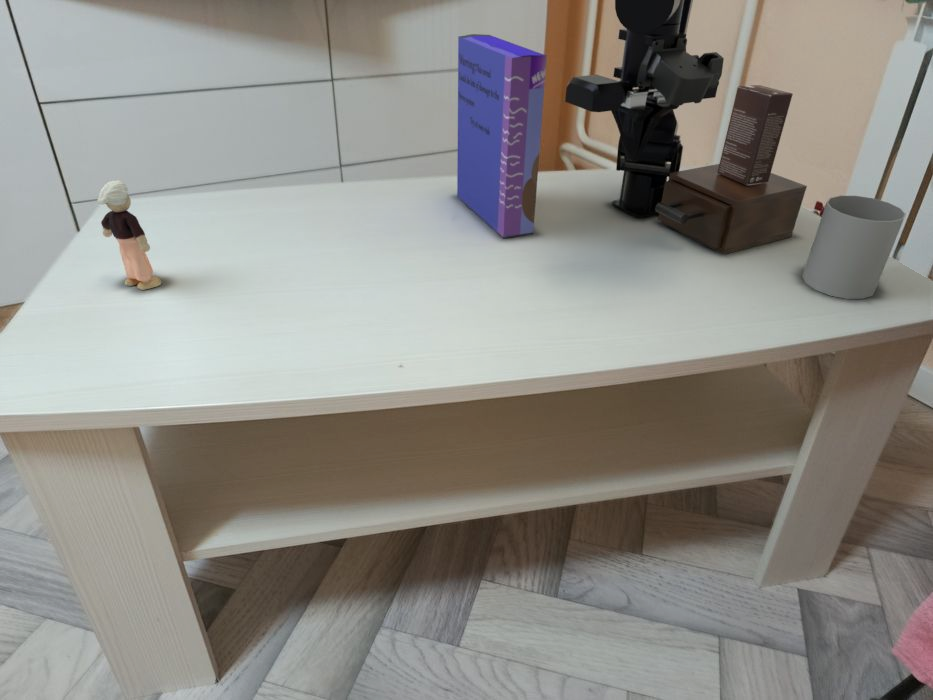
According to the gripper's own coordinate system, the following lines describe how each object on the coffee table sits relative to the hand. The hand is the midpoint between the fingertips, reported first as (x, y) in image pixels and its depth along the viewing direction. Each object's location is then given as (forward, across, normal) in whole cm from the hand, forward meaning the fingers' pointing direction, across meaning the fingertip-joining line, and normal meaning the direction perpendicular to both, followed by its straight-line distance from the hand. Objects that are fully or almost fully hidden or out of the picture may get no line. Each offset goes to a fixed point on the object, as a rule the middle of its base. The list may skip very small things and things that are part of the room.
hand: (632, 160), depth 83 cm
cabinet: (+13, +20, 0) cm, 24 cm away
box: (+6, +21, 0) cm, 22 cm away
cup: (+13, +20, -19) cm, 31 cm away
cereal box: (+13, -8, +20) cm, 25 cm away
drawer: (+12, +16, 0) cm, 20 cm away
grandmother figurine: (+13, -58, +20) cm, 63 cm away
